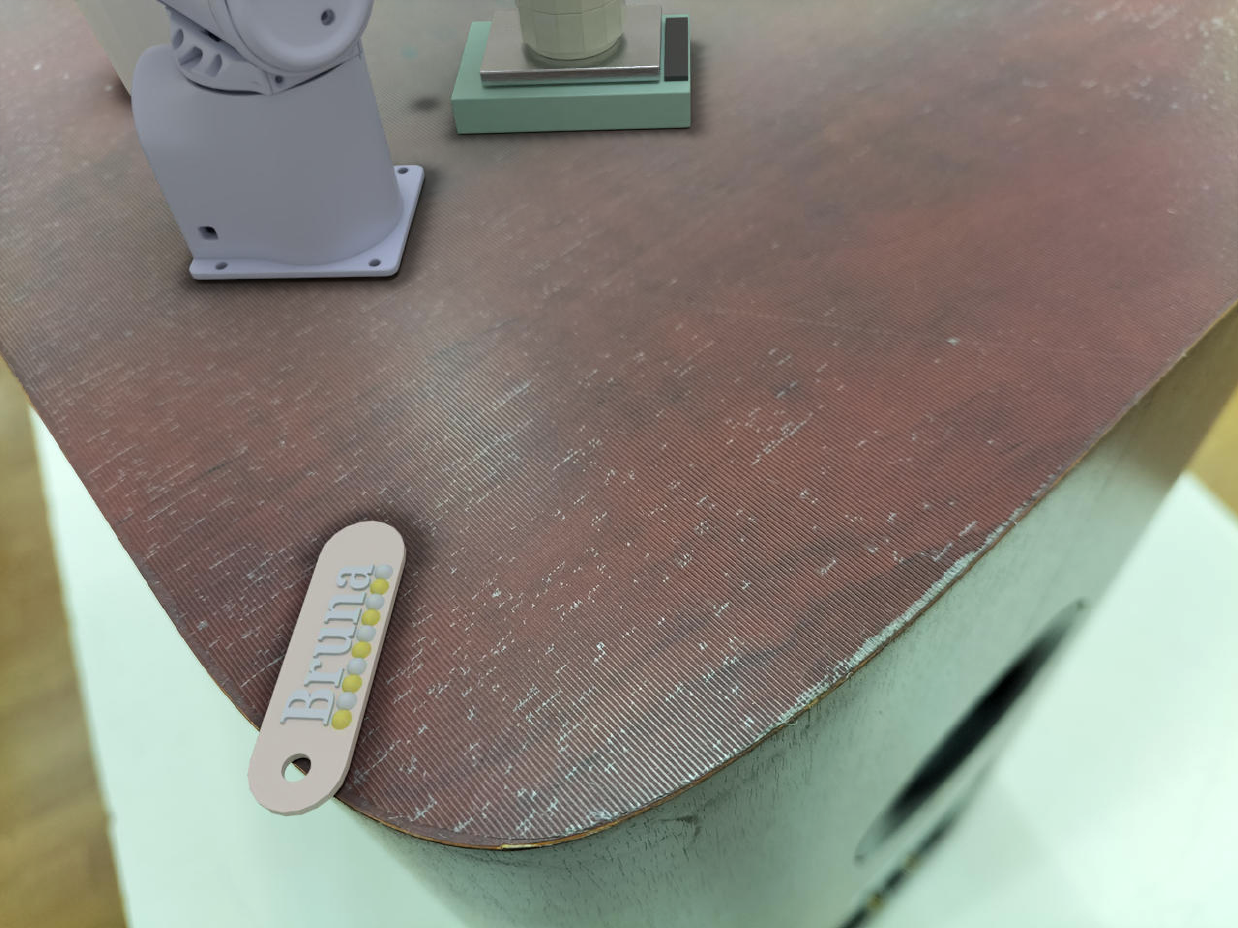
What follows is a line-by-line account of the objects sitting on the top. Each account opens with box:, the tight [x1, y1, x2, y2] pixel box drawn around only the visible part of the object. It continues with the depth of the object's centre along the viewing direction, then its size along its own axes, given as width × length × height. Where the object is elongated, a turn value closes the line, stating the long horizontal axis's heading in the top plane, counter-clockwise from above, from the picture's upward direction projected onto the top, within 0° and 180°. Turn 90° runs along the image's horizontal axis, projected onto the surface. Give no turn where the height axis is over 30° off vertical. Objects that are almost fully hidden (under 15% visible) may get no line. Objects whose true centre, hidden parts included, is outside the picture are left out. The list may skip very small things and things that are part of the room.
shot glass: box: [74, 0, 171, 97], centre depth 55 cm, size 7×7×7 cm
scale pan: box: [479, 4, 663, 86], centre depth 52 cm, size 9×6×1 cm
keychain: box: [246, 520, 407, 817], centre depth 32 cm, size 10×1×3 cm
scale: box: [450, 13, 692, 135], centre depth 53 cm, size 12×8×2 cm, turn 88°
